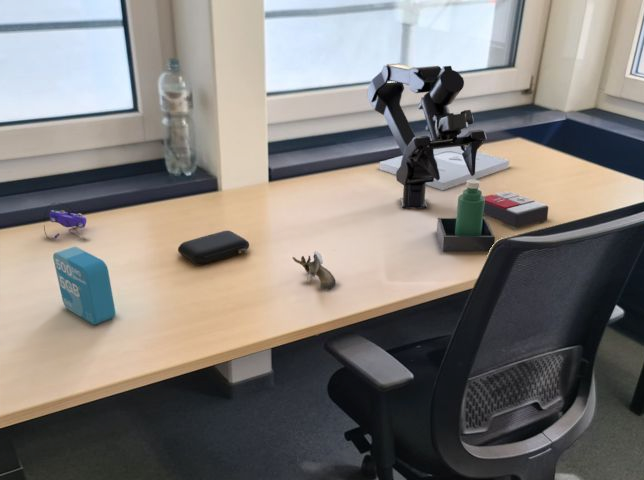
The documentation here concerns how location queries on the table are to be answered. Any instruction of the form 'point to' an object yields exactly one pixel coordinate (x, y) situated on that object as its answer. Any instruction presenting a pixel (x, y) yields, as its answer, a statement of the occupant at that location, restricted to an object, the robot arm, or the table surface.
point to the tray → (463, 237)
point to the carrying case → (213, 247)
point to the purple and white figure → (67, 220)
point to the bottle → (470, 210)
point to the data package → (84, 285)
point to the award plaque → (453, 167)
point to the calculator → (514, 209)
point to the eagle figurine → (317, 271)
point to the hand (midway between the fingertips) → (456, 177)
